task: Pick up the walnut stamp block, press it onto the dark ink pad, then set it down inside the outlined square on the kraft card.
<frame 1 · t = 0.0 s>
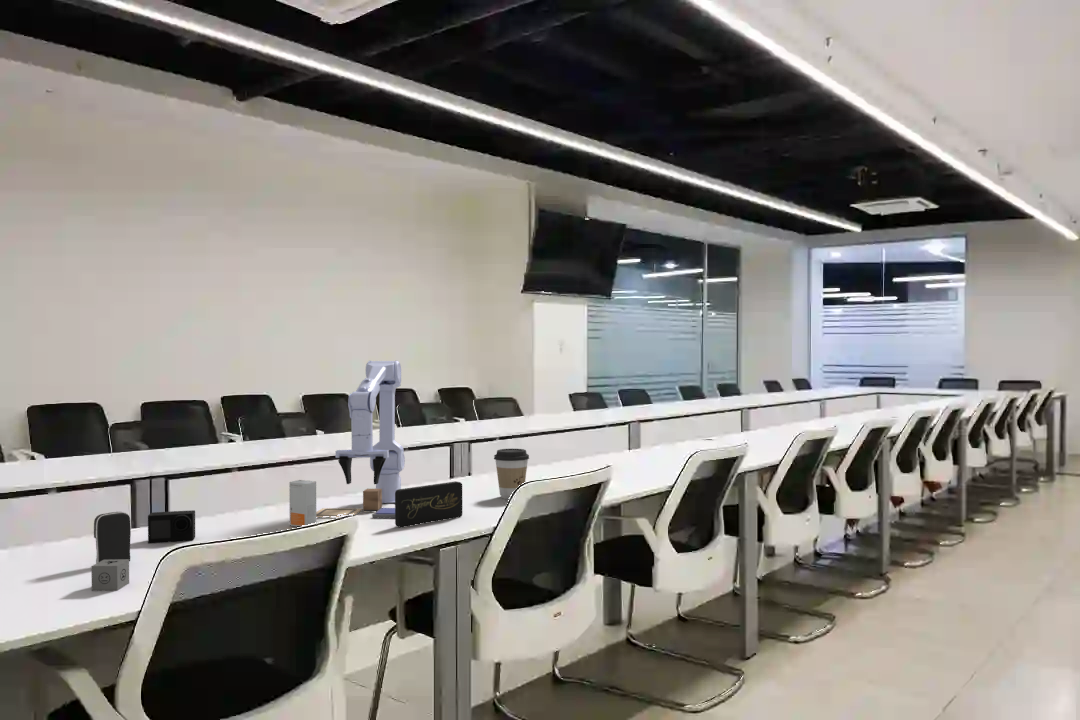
hand: (362, 483, 227), 10 cm above the table, tool pointing down, fingers open, 7 cm apart
dice cube: (110, 588, 165), on the table
digital camera: (171, 541, 204), on the table
coffee cup: (511, 497, 261), on the table
ink pad: (392, 515, 234), on the table
nameplate: (429, 522, 225), on the table
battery: (112, 564, 182), on the table
print card: (336, 513, 236), on the table
skincare box: (303, 526, 220), on the table
stamp block: (372, 510, 242), on the table
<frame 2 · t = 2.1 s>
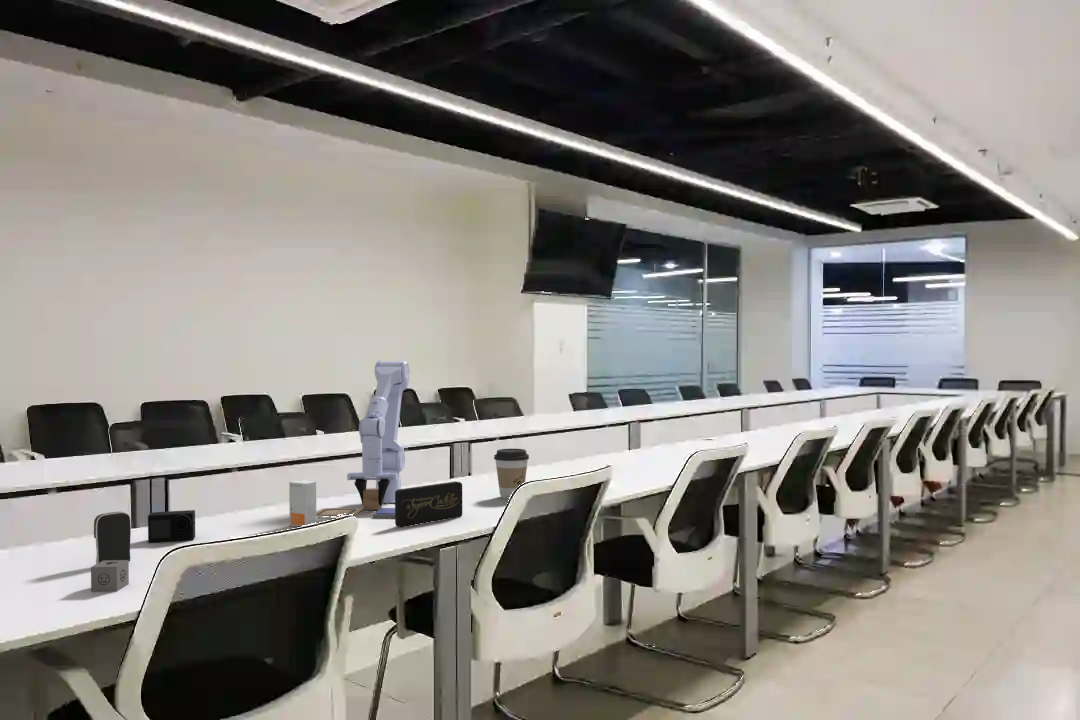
hand: (372, 504, 242), 2 cm above the table, tool pointing down, fingers closed on stamp block, 4 cm apart
stamp block: (372, 510, 242), on the table, touching gripper
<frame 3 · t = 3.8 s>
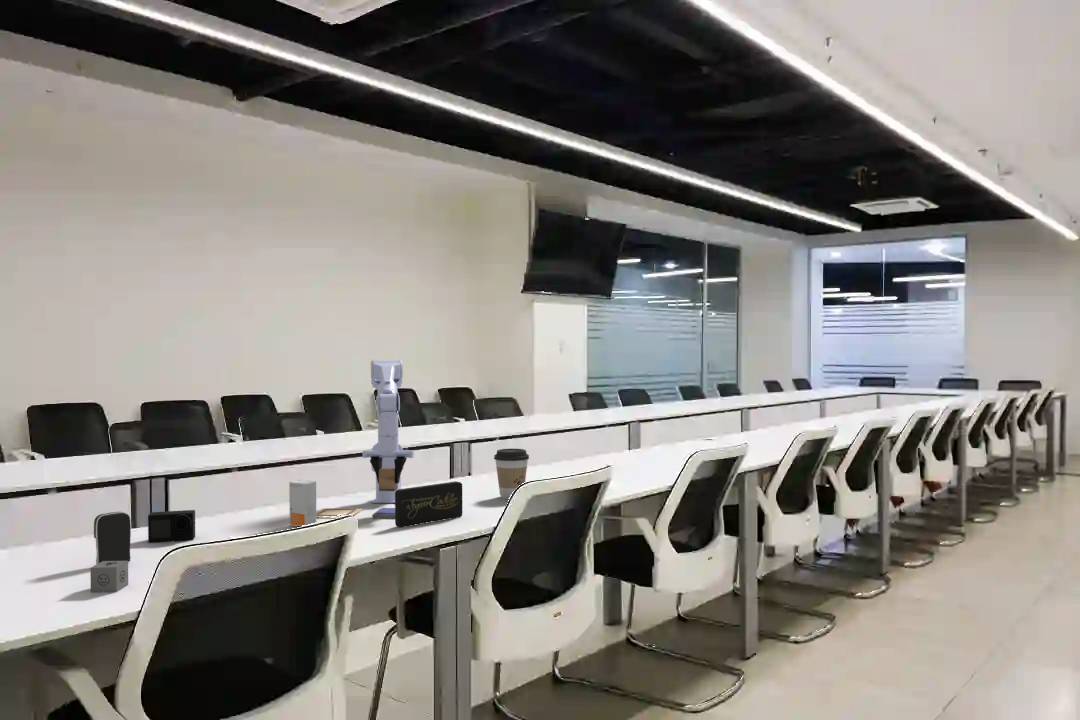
hand: (388, 482, 235), 9 cm above the table, tool pointing down, fingers closed on stamp block, 4 cm apart
stamp block: (388, 489, 235), point 7 cm above the table, touching gripper
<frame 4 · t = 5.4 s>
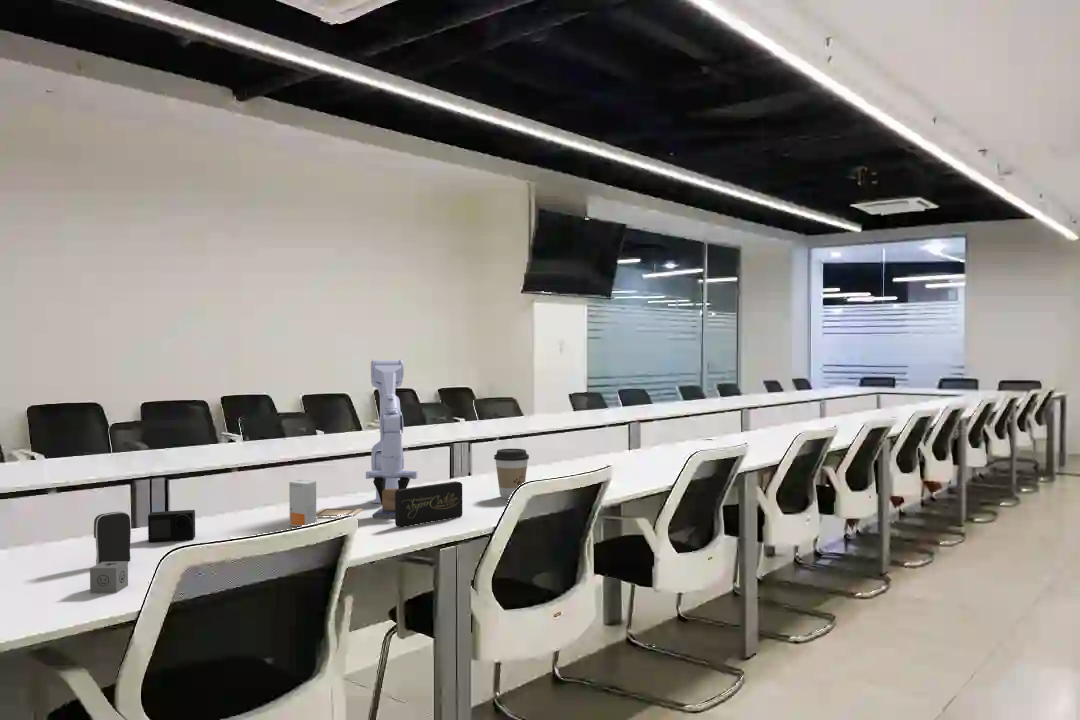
hand: (391, 503, 234), 3 cm above the table, tool pointing down, fingers closed on stamp block, 4 cm apart
stamp block: (391, 510, 234), point 1 cm above the table, touching gripper, ink pad
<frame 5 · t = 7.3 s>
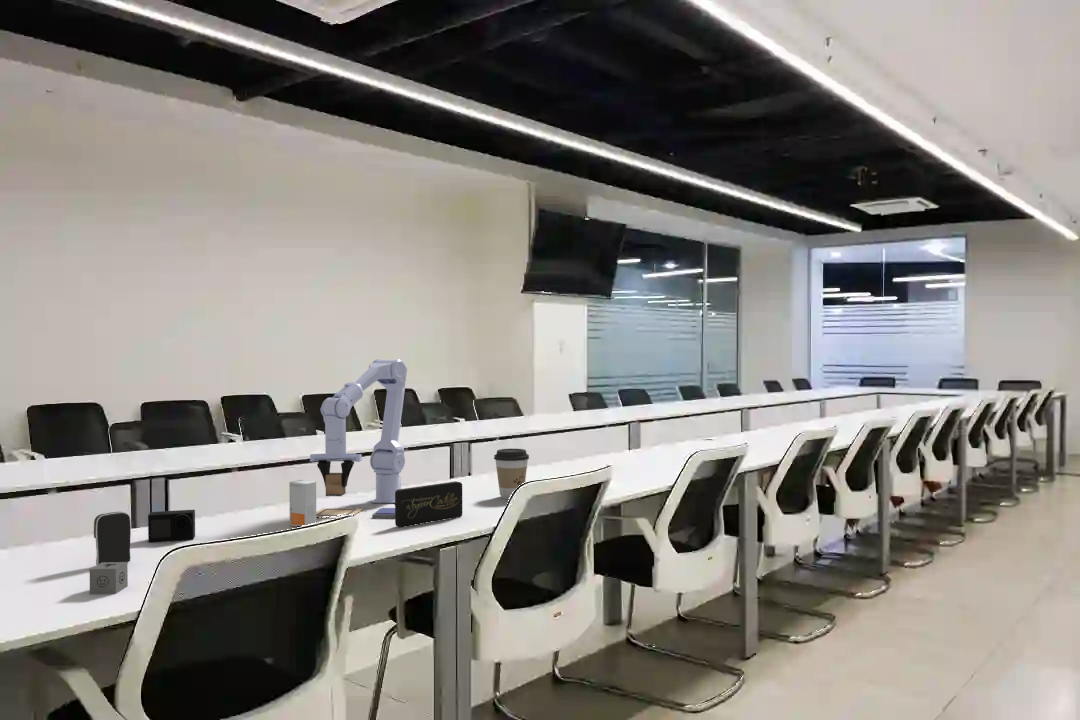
hand: (336, 486, 236), 8 cm above the table, tool pointing down, fingers closed on stamp block, 4 cm apart
stamp block: (335, 494, 236), point 6 cm above the table, touching gripper
when the fingers open (2 cm above the table, at t = 8.7 s): stamp block stays where it is, resting on print card.
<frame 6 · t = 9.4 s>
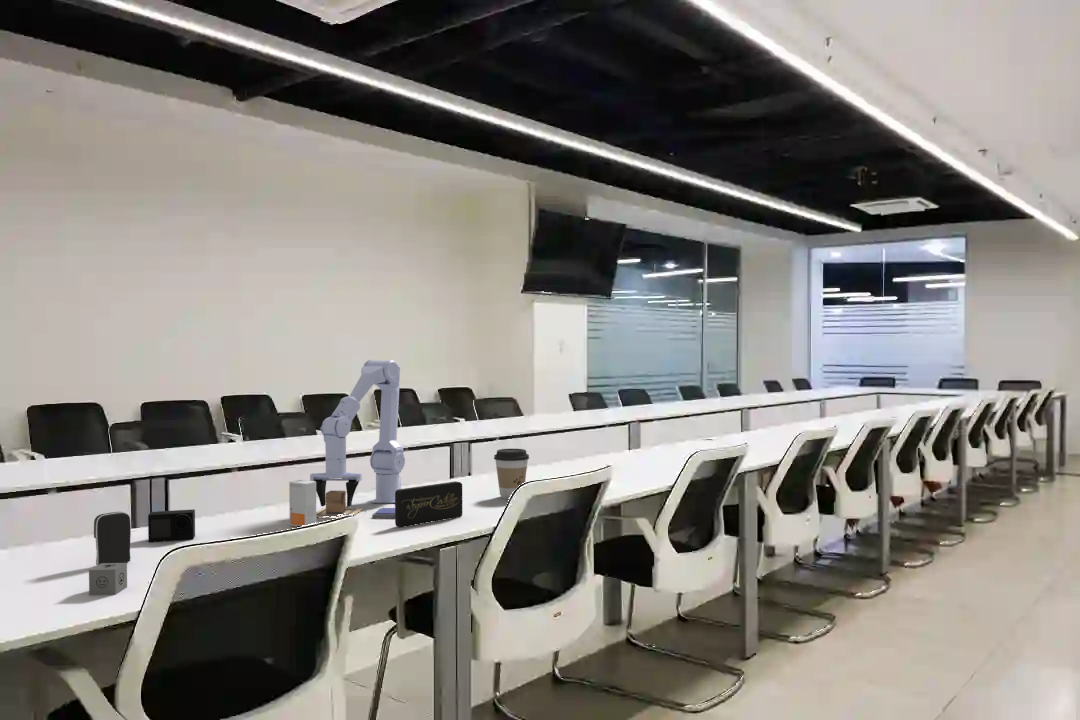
hand: (336, 505, 236), 2 cm above the table, tool pointing down, fingers open, 7 cm apart
stamp block: (335, 512, 236), resting on print card
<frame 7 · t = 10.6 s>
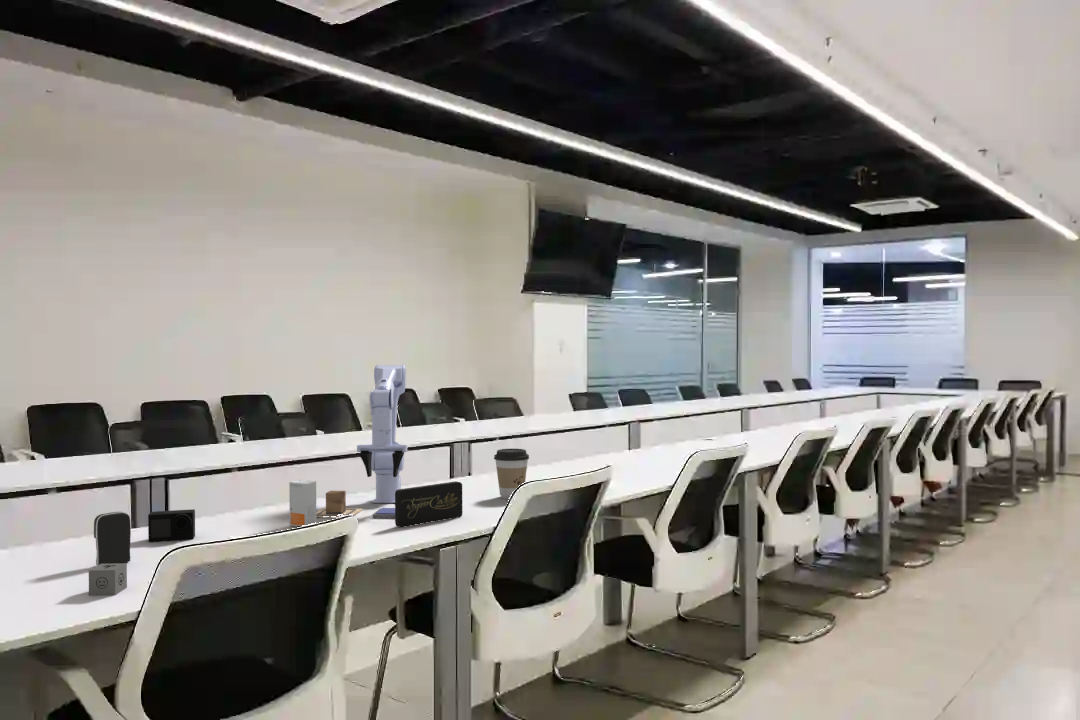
hand: (382, 476, 241), 10 cm above the table, tool pointing down, fingers open, 7 cm apart
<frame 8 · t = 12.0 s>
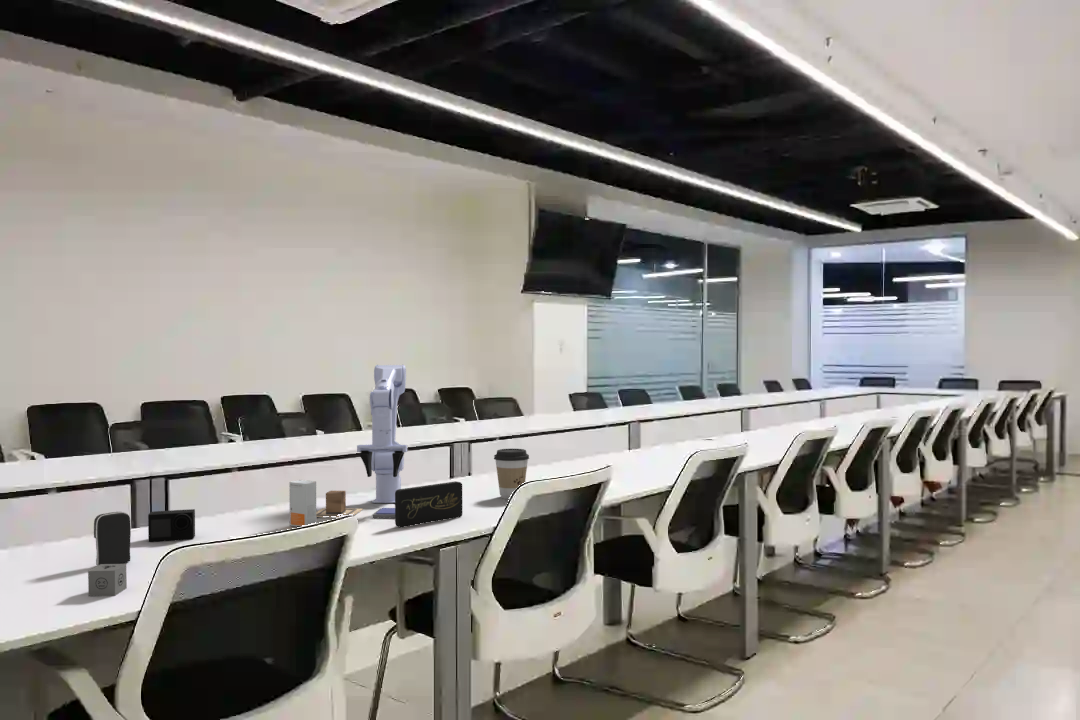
hand: (382, 476, 241), 10 cm above the table, tool pointing down, fingers open, 7 cm apart
at the end: stamp block inside the target area on the print card (0.4 cm from its centre), point 0.4 cm above the print card's base; stamp block tilted 0°; the gripper is holding nothing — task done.
